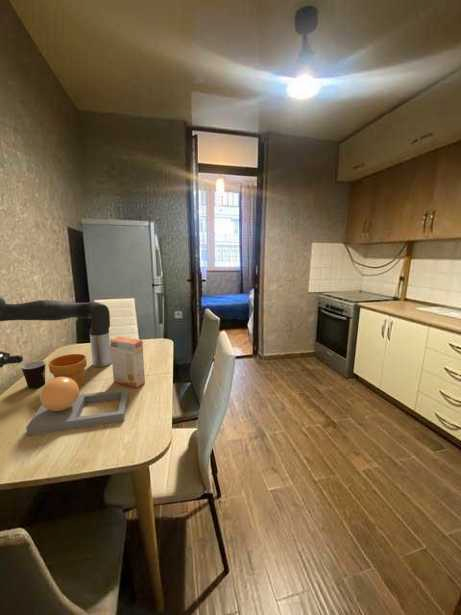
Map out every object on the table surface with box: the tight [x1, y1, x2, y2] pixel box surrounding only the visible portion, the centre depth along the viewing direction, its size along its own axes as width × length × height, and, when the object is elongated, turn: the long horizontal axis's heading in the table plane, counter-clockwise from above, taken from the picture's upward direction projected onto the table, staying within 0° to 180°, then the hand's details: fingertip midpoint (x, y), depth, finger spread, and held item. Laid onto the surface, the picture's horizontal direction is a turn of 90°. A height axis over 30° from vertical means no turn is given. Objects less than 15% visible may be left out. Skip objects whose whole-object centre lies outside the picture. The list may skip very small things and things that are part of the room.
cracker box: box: [110, 336, 146, 389], centre depth 123 cm, size 14×6×21 cm, turn 65°
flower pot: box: [48, 353, 88, 389], centre depth 120 cm, size 14×14×13 cm
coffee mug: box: [21, 360, 46, 390], centre depth 123 cm, size 12×9×10 cm
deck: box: [25, 388, 129, 436], centre depth 102 cm, size 30×18×3 cm, turn 106°
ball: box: [39, 377, 80, 411], centre depth 98 cm, size 12×12×12 cm
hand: (21, 358), depth 93 cm, fingers closed
